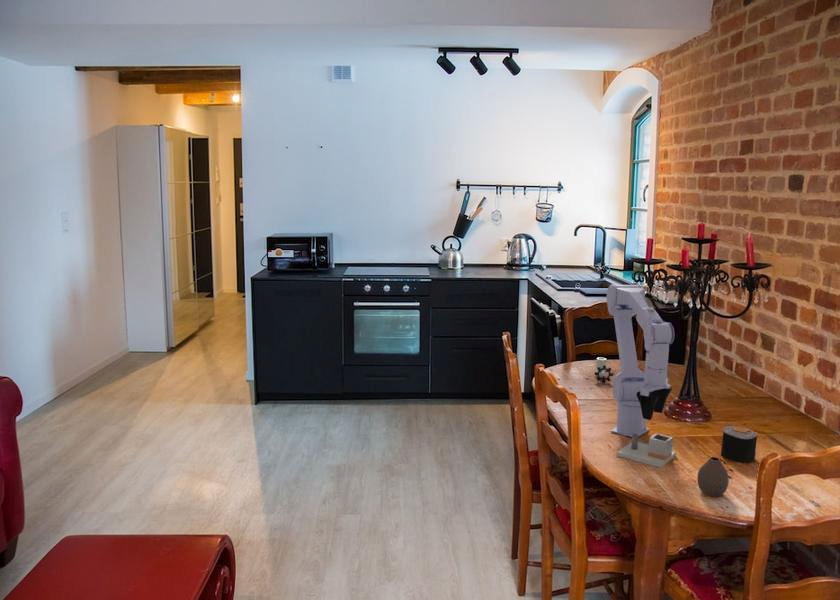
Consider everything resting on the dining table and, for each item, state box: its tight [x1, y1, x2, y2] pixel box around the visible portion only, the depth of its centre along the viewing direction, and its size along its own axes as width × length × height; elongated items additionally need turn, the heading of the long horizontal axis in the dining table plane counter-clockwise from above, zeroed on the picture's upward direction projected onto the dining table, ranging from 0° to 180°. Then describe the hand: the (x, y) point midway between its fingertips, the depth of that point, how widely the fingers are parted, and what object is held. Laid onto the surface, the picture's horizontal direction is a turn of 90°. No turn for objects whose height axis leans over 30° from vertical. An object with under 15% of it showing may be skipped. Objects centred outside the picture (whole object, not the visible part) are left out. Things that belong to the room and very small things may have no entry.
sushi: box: [720, 425, 758, 464], centre depth 194 cm, size 8×8×8 cm
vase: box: [696, 456, 730, 498], centre depth 172 cm, size 7×7×9 cm
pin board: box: [616, 434, 677, 468], centre depth 194 cm, size 11×12×5 cm
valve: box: [594, 357, 614, 384], centre depth 267 cm, size 7×7×12 cm
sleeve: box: [648, 432, 674, 460], centre depth 192 cm, size 5×5×5 cm
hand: (652, 415), depth 196 cm, fingers open, 7 cm apart
